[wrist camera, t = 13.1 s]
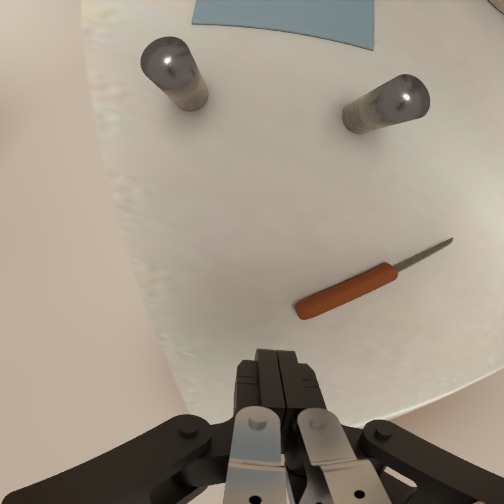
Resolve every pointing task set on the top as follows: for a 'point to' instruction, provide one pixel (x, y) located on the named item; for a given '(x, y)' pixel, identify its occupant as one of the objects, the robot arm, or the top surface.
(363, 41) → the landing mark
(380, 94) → the right post
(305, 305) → the kitchen knife
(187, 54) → the left post
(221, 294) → the top surface
